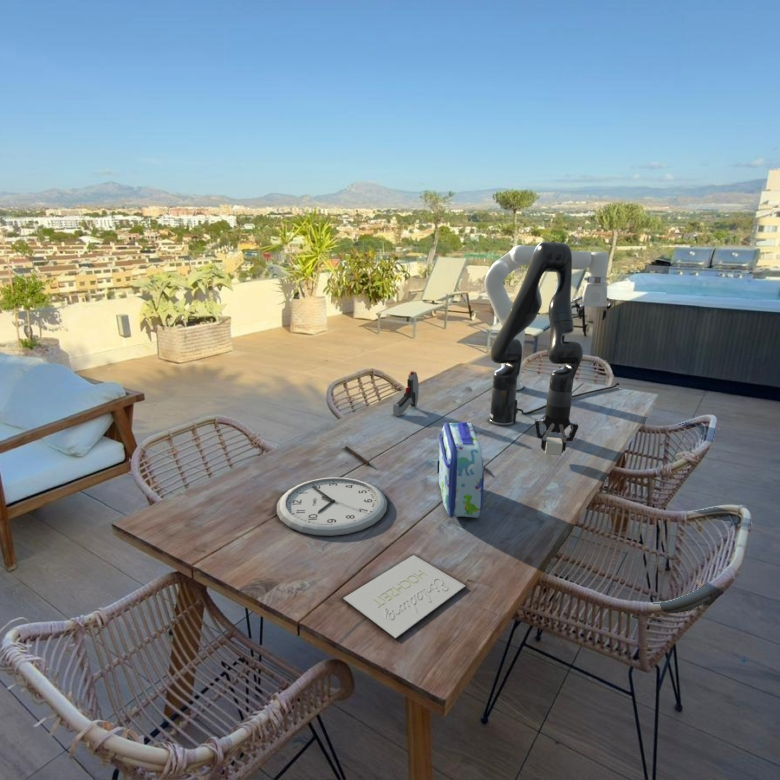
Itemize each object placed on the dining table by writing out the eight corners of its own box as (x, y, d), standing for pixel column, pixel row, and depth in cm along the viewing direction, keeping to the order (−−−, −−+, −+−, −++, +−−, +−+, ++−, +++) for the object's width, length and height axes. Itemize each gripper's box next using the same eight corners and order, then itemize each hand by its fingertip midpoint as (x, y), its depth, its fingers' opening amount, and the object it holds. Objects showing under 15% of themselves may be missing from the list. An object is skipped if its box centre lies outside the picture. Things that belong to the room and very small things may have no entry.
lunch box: (435, 478, 159) (438, 413, 153) (470, 478, 159) (475, 414, 153) (442, 524, 134) (446, 449, 128) (484, 525, 134) (490, 450, 128)
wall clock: (392, 527, 129) (268, 531, 127) (391, 533, 130) (269, 537, 127) (383, 473, 158) (282, 475, 155) (383, 478, 158) (282, 480, 156)
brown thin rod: (344, 448, 179) (344, 445, 179) (346, 448, 179) (346, 445, 179) (367, 464, 167) (367, 462, 167) (368, 464, 167) (368, 461, 167)
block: (545, 454, 171) (546, 442, 170) (544, 448, 176) (545, 436, 175) (561, 456, 170) (562, 444, 169) (559, 449, 175) (561, 438, 174)
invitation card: (413, 554, 121) (465, 585, 111) (413, 555, 121) (465, 586, 111) (343, 597, 107) (395, 637, 97) (343, 598, 107) (395, 638, 97)
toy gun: (392, 379, 206) (413, 369, 217) (393, 417, 212) (414, 405, 223) (397, 380, 205) (418, 370, 216) (398, 418, 210) (418, 406, 222)
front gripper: (536, 404, 166) (531, 453, 171) (584, 408, 163) (576, 457, 168) (535, 396, 173) (529, 444, 178) (580, 400, 170) (573, 448, 175)
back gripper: (577, 280, 229) (572, 319, 234) (619, 282, 226) (613, 321, 231) (574, 279, 236) (570, 316, 241) (615, 280, 233) (609, 318, 238)
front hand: (552, 450), depth 173 cm, fingers closed on block, 5 cm apart
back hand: (591, 319), depth 236 cm, fingers open, 9 cm apart
